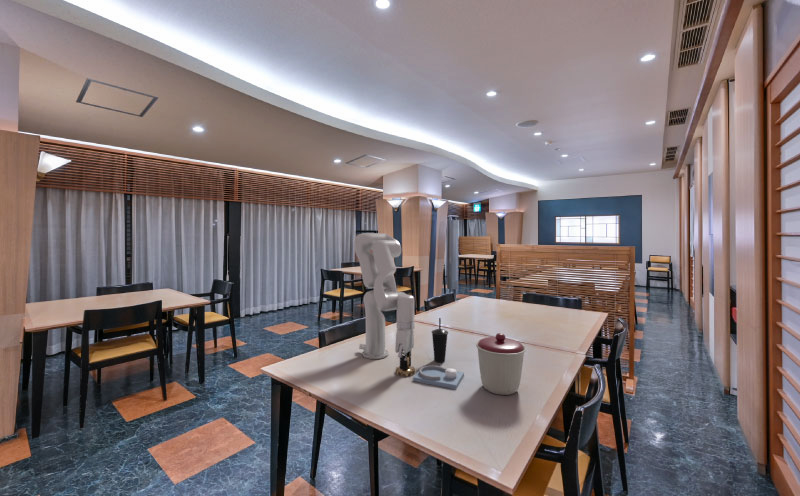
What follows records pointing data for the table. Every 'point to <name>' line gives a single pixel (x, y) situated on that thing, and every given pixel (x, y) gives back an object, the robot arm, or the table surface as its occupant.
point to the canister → (500, 363)
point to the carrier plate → (439, 376)
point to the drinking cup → (439, 343)
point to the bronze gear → (407, 372)
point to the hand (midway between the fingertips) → (405, 367)
